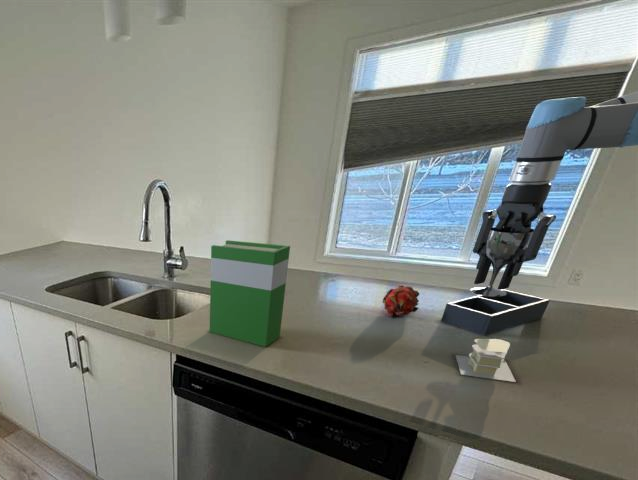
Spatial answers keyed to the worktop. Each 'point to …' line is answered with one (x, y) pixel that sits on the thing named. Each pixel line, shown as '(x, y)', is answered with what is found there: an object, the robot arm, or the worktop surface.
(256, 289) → the hardback book
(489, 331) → the divided tray
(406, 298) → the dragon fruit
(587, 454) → the worktop surface
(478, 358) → the stacked layers on plate
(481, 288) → the wine glass
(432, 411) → the worktop surface
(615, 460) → the worktop surface
